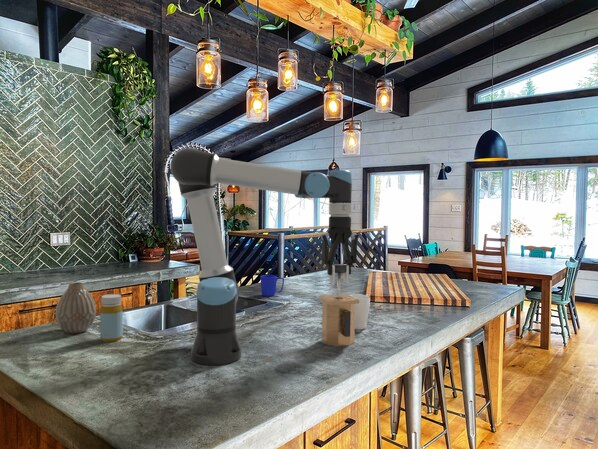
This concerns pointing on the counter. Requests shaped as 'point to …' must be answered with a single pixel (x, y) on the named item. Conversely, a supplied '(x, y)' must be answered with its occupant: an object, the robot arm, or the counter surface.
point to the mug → (269, 285)
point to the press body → (338, 319)
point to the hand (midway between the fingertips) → (339, 284)
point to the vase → (75, 309)
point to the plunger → (339, 277)
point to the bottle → (111, 318)
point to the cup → (361, 310)
